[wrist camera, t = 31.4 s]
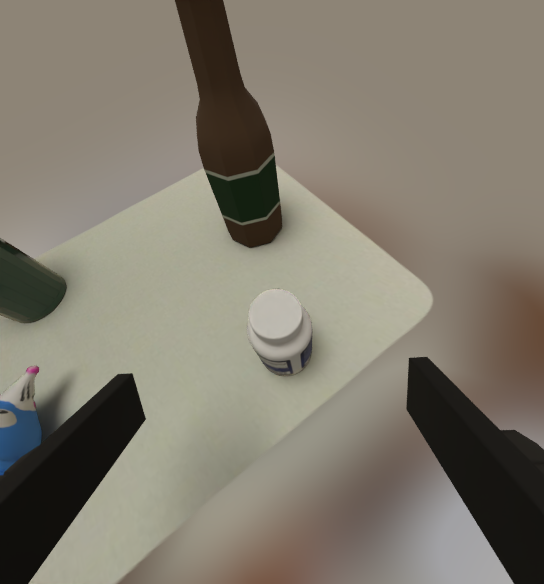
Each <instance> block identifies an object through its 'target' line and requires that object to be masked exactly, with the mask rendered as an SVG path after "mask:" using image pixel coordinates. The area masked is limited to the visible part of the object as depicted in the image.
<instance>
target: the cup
mask: <svg viewBox="0 0 544 584" xmlns="http://www.w3.org/2000/svg"><path fill="white" fill-rule="evenodd" d="M65 290H66V283H65V281H64V279H63V278H62V277H61V276H59V275H58V274H57V273H55V272H53V271H52V270H50V269H49V268H47V267H45V266H44V265H42V264H41V263H39V262H38V261H36V260H34V259H33V258H31V257H30V256H28V255H26V254H25V253H23V252H22V251H20V250H19V249H17V248H15V247H14V246H12V245H11V244H9V243H7V242H6V241H4V240H3V239H1V238H0V316H3V317H6V318H8V319H11V320H14V321H17V322H20V323H30V322H34V321H37V320H39V319H41V318H43V317H45V316H46V315H48V314H49V313H50V312H52V311H53V310H54V309H55V308H56V307H57V306H58V304H59V303H60V302H61V300H62V298H63V296H64V294H65Z"/></svg>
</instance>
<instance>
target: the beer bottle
mask: <svg viewBox="0 0 544 584" xmlns="http://www.w3.org/2000/svg"><path fill="white" fill-rule="evenodd" d="M175 2H176V6H177V10H178V14H179V17H180V21H181V24H182V29H183V32H184V36H185V40H186V43H187V47H188V51H189V55H190V59H191V62H192V66H193V70H194V74H195V77H196V81H197V85H198V91H199V97H200V101H199V106H198V111H197V116H196V125H197V139H198V149H199V153H200V156H201V160H202V163H203V167H204V170H205V172H206V175H207V177H208V180H209V183H210V185H211V188H212V190H213V193H214V195H215V198H216V200H217V203H218V206H219V208H220V211H221V213H222V216H223V218H224V221H225V223H226V226H227V229H228V231H229V233H230V235H231V237H232V239H233V240H235V241H237V242H239V243H242V244H244V245H246V246H248V247H254V246H258V245H262V244H267V243H270V242H271V241H272V240H273V238H274V237H275V236H276V235H277V233H278V232H279V231H280V229H281V228H282V215H281V206H280V198H279V189H278V181H277V172H276V164H275V156H274V149H273V144H272V139H271V134H270V131H269V128H268V126H267V123H266V121H265V118H264V116H263V114H262V111H261V109H260V107H259V105H258V103H257V102H256V100H255V99H254V98H253V97H252V95H251V94H250V93H249V92H248V91H247V89H246V88H245V87H244V84H243V81H242V77H241V74H240V70H239V66H238V62H237V58H236V53H235V49H234V45H233V41H232V37H231V33H230V28H229V24H228V19H227V15H226V11H225V7H224V2H223V0H175Z"/></svg>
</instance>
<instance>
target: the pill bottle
mask: <svg viewBox="0 0 544 584" xmlns="http://www.w3.org/2000/svg"><path fill="white" fill-rule="evenodd" d="M248 319H249V320H248V324H247V335H248V339H249V341H250V343H251V345H252V347H253V349H254V350H255V352H256V353H257V355H258V356H259V358H260V359H261V361H262V362H263V364H264V365H265V366H266V368H267V369H269V370H270V371H271V372H273V373H275V374H277V375H281V376H290V375H294V374H296V373H298V372H300V371H301V370H302V369H304V368H305V366H306V365H307V364H308V362H309V360H310V357H311V353H312V322H311V319H310V316H309V314H308V312H307V311H306V309H305V308H304V307H303V306H302V305H301V303H300V301H299V300H298V298H297V297H296V296H295V295H293V294H292V293H291V292H289V291H286V290H283V289H271V290H267V291H265V292H263V293H261V294H259V295H258V296H257V297H256V298H255V299H254V300H253V302H252V303H251V305H250V308H249V312H248Z"/></svg>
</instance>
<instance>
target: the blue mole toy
mask: <svg viewBox="0 0 544 584" xmlns="http://www.w3.org/2000/svg"><path fill="white" fill-rule="evenodd" d="M38 372H39V367H38V366H36V365H34V366H31V367H29V368H27V370H26V372H25V374H24V375H23V376H21V377H20V378H19V379H18V380H17V381H16V382H15V383H13V384H12V385H11V386H10V387H9V388H8V389H7V390H5V391H4V392H3V393H2V394H1V395H0V475H3V474H4V472H5V471H6V470H7V469H8V468H9V467H10V466H12V465H13V464H14V463H15V462H16V461H17V460H18V459H19V458H21V457H22V456H24V455H25V454H27V453H28V452H30V451H31V450H33V449H34V448H36V447H37V446H39V445H40V444H41V439H42V431H41V426H40V423H39V419H38V415H37V412H36V405H35V402H34V401H33V397H34V395H35V389H34V380H35V376H36V374H37V373H38Z"/></svg>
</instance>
